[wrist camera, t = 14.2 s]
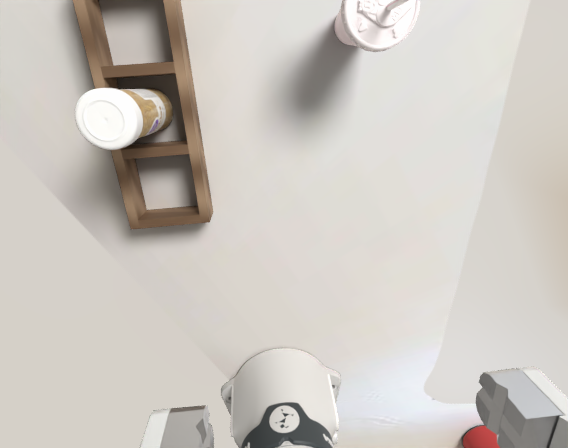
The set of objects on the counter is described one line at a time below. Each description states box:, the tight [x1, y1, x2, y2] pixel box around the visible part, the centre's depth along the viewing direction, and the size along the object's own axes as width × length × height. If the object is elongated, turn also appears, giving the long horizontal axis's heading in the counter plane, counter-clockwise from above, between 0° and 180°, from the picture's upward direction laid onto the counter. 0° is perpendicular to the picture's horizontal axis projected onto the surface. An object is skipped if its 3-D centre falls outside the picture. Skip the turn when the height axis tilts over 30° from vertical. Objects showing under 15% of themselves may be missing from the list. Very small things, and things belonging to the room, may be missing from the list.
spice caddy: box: [73, 0, 213, 229], centre depth 37 cm, size 25×9×4 cm, turn 4°
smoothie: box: [335, 0, 420, 52], centre depth 30 cm, size 6×6×14 cm
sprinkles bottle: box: [75, 88, 173, 150], centre depth 32 cm, size 5×5×14 cm
